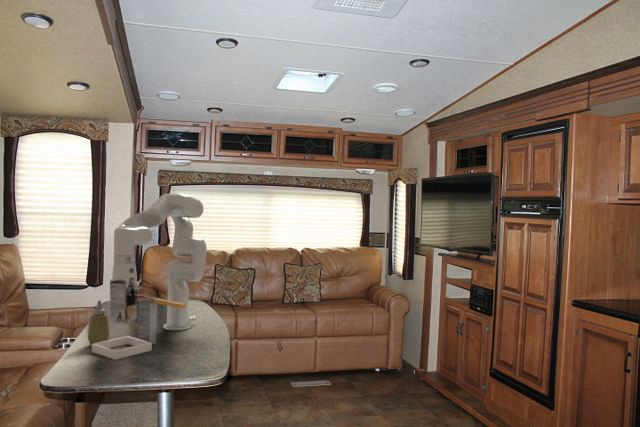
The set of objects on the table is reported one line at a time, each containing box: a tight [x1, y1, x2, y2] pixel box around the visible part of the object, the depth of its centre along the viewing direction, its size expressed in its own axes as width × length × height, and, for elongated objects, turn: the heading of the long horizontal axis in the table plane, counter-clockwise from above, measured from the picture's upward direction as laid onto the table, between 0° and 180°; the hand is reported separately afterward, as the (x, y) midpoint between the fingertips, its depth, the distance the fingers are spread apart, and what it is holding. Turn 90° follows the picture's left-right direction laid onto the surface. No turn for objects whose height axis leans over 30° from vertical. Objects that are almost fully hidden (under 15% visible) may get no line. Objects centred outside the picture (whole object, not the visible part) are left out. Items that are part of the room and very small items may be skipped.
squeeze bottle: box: [87, 300, 110, 347], centre depth 198 cm, size 8×8×18 cm
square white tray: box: [91, 302, 158, 361], centre depth 194 cm, size 23×16×17 cm
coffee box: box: [109, 280, 138, 325], centre depth 191 cm, size 9×6×16 cm
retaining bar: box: [148, 296, 186, 309], centre depth 197 cm, size 21×3×2 cm, turn 54°
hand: (123, 303), depth 191 cm, fingers closed on coffee box, 8 cm apart
